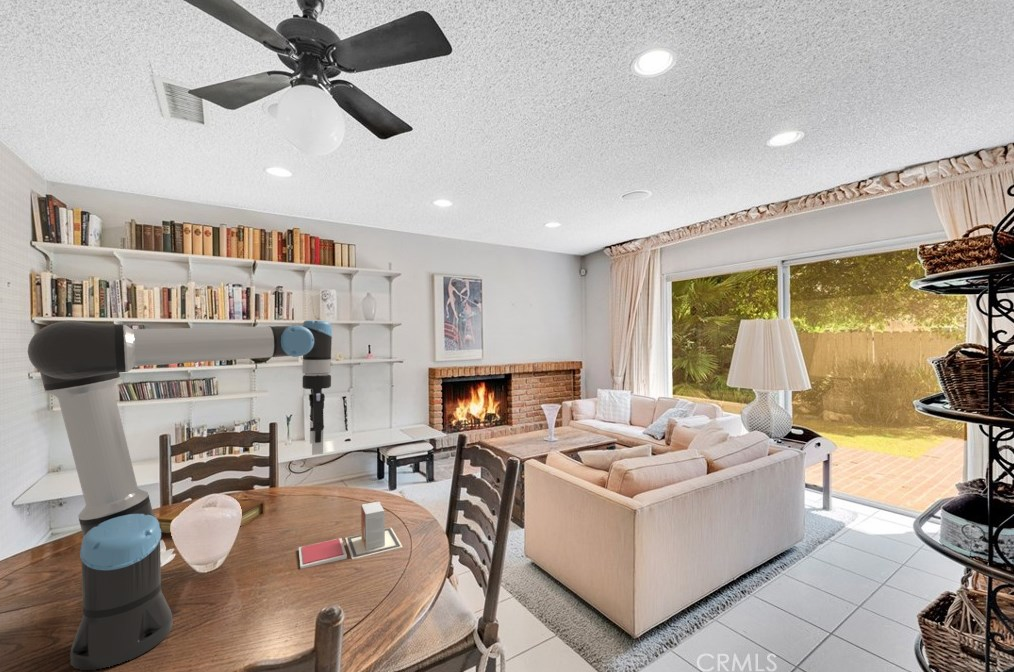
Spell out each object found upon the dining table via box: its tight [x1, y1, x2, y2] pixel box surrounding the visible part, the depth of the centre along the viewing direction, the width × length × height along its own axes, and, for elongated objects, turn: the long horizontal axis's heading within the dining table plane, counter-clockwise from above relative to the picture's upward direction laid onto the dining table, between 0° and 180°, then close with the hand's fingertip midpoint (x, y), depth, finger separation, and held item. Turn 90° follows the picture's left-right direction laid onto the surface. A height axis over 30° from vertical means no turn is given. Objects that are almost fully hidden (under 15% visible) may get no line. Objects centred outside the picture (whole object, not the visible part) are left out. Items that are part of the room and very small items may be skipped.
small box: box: [360, 501, 386, 550], centre depth 127 cm, size 8×6×10 cm
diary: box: [156, 498, 266, 534], centre depth 142 cm, size 23×19×6 cm
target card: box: [344, 527, 404, 560], centre depth 128 cm, size 14×14×1 cm
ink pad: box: [298, 537, 348, 570], centre depth 121 cm, size 12×12×2 cm
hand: (316, 448), depth 123 cm, fingers open, 13 cm apart
